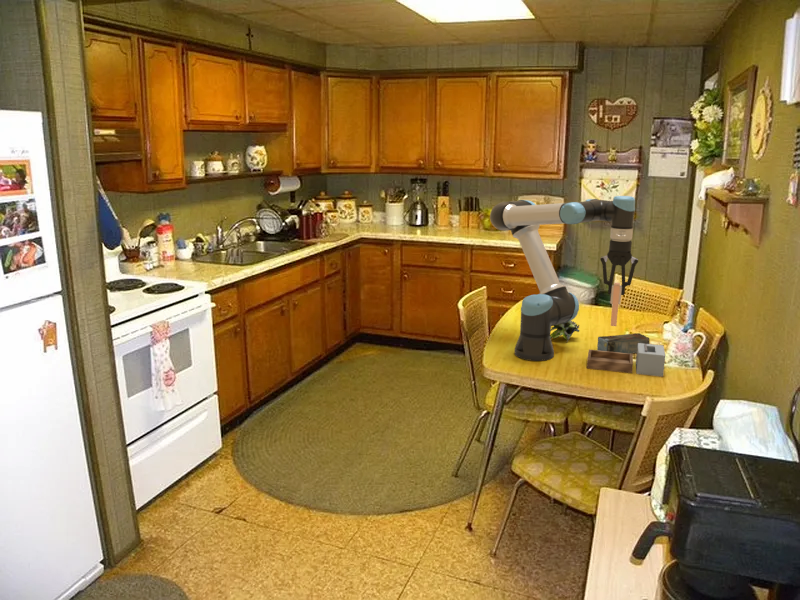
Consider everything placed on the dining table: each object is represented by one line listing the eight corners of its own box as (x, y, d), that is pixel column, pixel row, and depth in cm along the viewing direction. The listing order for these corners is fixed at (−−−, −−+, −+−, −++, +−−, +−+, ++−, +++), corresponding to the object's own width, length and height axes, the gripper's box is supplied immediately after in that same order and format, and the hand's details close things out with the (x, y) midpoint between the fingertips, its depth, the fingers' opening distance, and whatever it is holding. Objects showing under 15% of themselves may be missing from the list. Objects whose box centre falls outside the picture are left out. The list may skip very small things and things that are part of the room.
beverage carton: (595, 350, 261) (597, 334, 260) (638, 346, 265) (639, 331, 264) (606, 356, 254) (607, 340, 252) (649, 353, 258) (651, 337, 256)
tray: (586, 368, 240) (587, 359, 239) (588, 357, 251) (588, 349, 250) (632, 373, 235) (633, 364, 235) (631, 362, 246) (632, 353, 246)
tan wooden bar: (610, 325, 237) (614, 286, 233) (610, 321, 242) (614, 282, 238) (616, 326, 236) (619, 286, 232) (616, 321, 242) (619, 282, 238)
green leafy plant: (563, 349, 278) (580, 326, 277) (570, 353, 267) (587, 329, 266) (542, 334, 277) (559, 311, 277) (548, 337, 266) (565, 313, 266)
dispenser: (636, 373, 235) (638, 351, 233) (635, 362, 246) (637, 341, 244) (663, 376, 232) (665, 354, 230) (661, 365, 243) (663, 343, 241)
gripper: (598, 240, 230) (593, 304, 236) (643, 242, 225) (637, 307, 231) (599, 237, 237) (594, 299, 243) (642, 239, 232) (636, 302, 238)
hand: (615, 303), depth 237 cm, fingers closed on tan wooden bar, 2 cm apart
